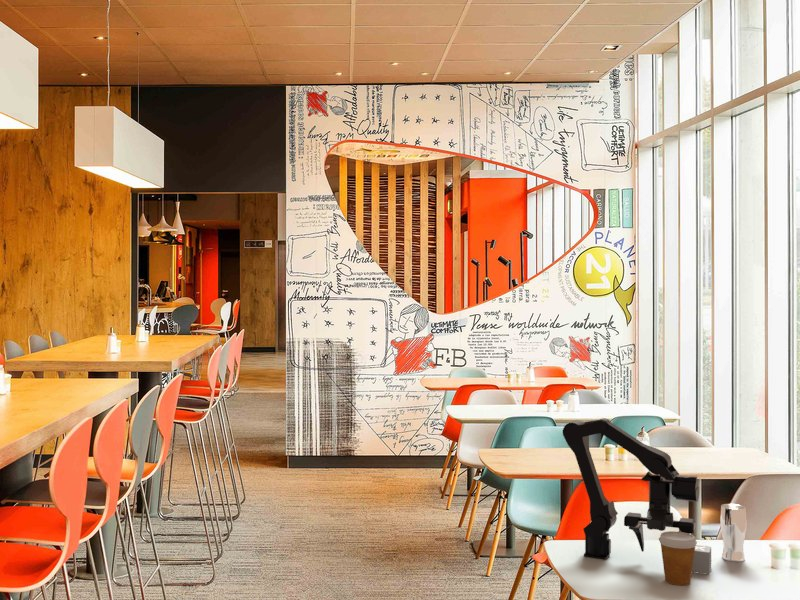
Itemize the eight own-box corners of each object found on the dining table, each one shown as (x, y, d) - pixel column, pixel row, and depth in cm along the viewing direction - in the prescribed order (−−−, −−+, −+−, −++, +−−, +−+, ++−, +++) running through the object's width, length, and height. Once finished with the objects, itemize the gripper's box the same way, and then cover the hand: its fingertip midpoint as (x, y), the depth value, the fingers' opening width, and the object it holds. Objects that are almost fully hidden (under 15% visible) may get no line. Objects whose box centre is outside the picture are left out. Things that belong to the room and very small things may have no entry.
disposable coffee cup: (696, 578, 220) (696, 532, 220) (697, 589, 211) (697, 542, 211) (659, 574, 223) (659, 529, 223) (658, 585, 214) (658, 538, 214)
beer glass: (748, 563, 233) (748, 510, 233) (722, 561, 234) (722, 508, 234) (743, 556, 240) (743, 504, 240) (718, 554, 241) (718, 503, 241)
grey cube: (685, 571, 225) (685, 549, 225) (688, 565, 231) (688, 543, 231) (709, 574, 223) (709, 552, 223) (711, 568, 228) (711, 546, 228)
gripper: (620, 500, 228) (620, 556, 228) (691, 507, 220) (691, 565, 220) (627, 492, 238) (627, 546, 238) (695, 498, 230) (695, 554, 230)
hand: (659, 553), depth 231 cm, fingers open, 9 cm apart
